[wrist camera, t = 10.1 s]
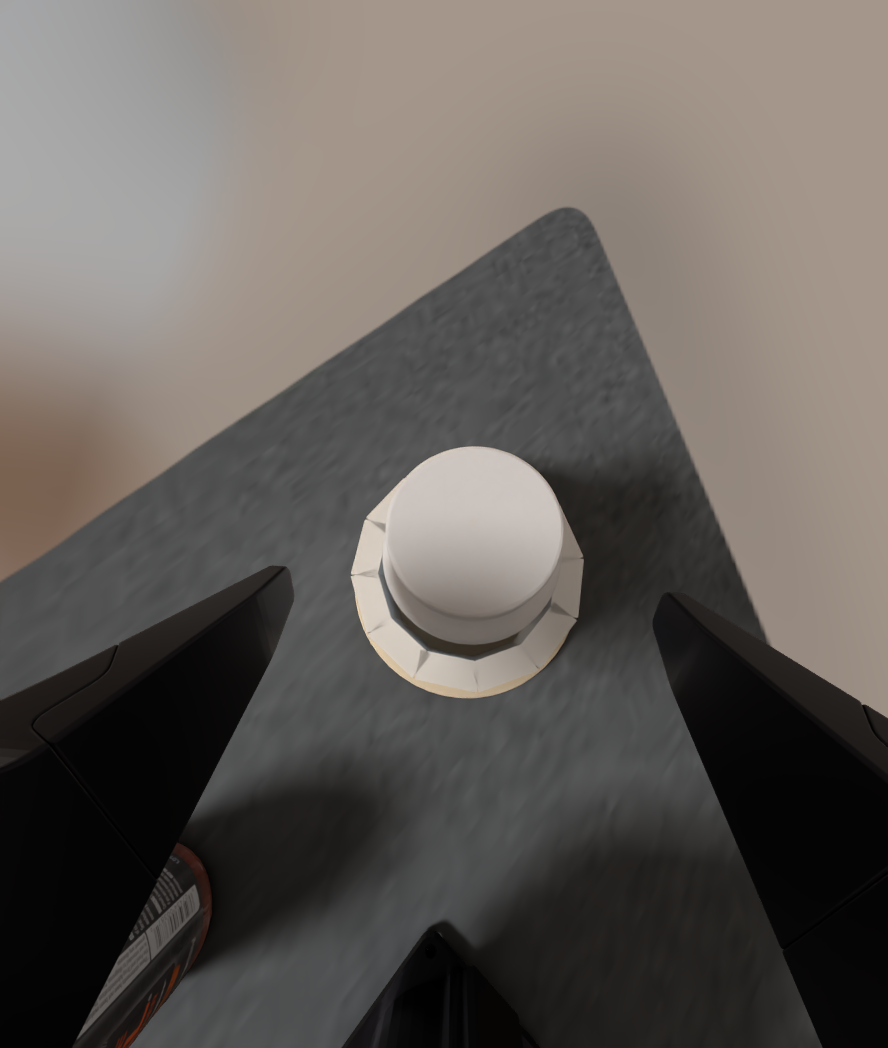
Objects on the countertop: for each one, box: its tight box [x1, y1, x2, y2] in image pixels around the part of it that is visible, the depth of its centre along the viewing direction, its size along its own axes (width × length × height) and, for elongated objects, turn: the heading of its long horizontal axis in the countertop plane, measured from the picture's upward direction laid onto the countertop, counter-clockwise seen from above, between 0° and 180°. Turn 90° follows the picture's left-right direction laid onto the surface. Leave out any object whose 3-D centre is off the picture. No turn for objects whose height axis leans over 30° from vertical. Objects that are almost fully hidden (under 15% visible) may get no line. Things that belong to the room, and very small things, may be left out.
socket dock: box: [351, 478, 584, 698], centre depth 19 cm, size 12×12×4 cm
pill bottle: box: [382, 446, 564, 645], centre depth 15 cm, size 6×6×11 cm
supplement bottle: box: [72, 842, 212, 1048], centre depth 12 cm, size 6×6×11 cm
